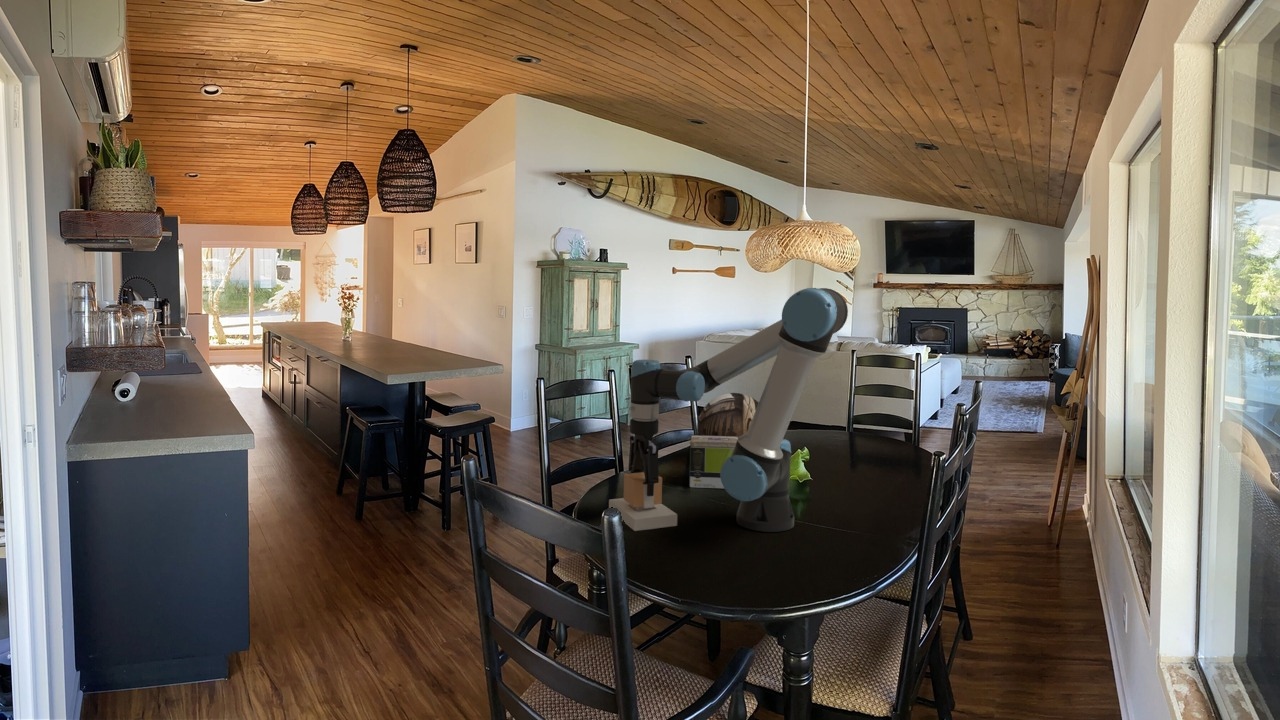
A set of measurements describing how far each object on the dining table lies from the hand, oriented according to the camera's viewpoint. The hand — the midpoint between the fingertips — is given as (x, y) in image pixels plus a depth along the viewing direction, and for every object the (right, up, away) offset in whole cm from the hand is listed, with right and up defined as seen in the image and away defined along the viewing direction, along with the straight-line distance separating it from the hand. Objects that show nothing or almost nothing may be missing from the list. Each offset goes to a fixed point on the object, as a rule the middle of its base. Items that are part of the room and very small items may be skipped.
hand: (642, 503), depth 204 cm
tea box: (+22, -1, +34) cm, 41 cm away
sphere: (+31, +2, +59) cm, 66 cm away
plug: (0, -3, 0) cm, 3 cm away
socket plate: (0, -4, +1) cm, 4 cm away
